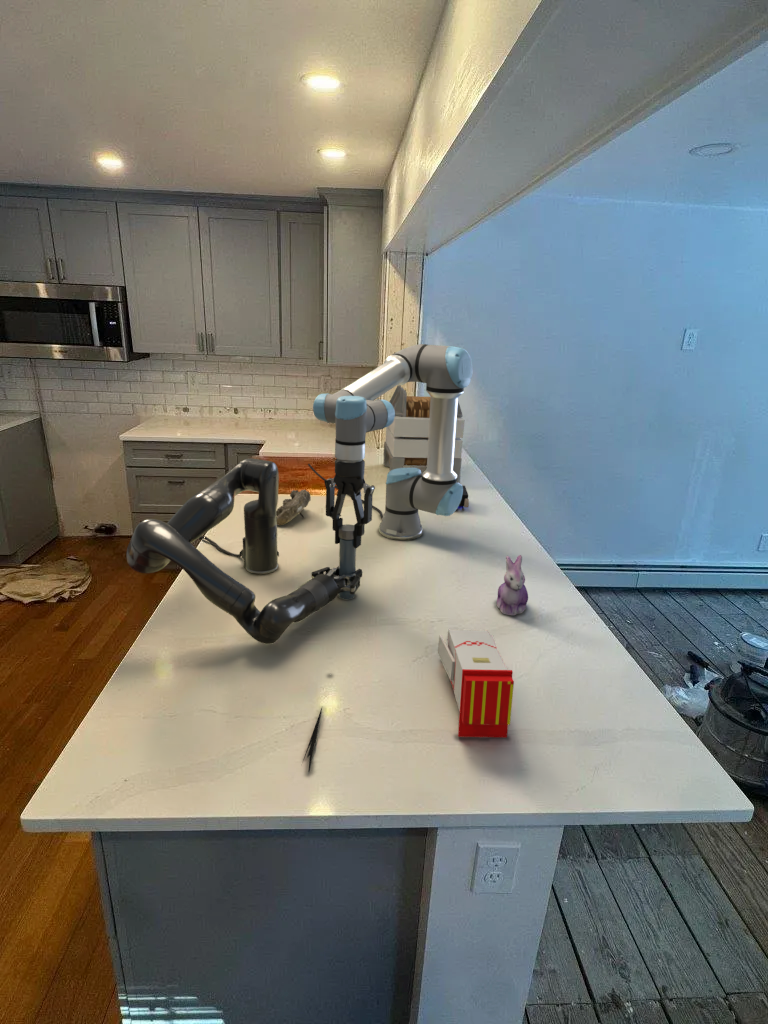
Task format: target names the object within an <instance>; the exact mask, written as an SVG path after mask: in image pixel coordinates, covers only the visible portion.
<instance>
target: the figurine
mask: <svg viewBox="0 0 768 1024" xmlns="http://www.w3.org/2000/svg"><path fill="white" fill-rule="evenodd" d="M522 562H523V555H522V554H519V555H518V556H517V557H516V559H515V561H513V560H512V558H511V556H509V555H506V556H505V566H506V567H505V569H506V571H505V573H504V576H503V581H504V582H502V584H500V585H499V586H498V589H497V598H496V607H497V608H498V610H500V612H501V614H503V615H508V616H516V615H518V614H523V612H524V611H525V610H526V607H527V603H528V601H529V594H528V590H527V587H526V585H525V583H526V576H525V574H524V571H523V569H522V564H523V563H522Z"/></svg>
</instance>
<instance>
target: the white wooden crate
mask: <svg viewBox="0 0 768 1024" xmlns="http://www.w3.org/2000/svg"><path fill="white" fill-rule="evenodd" d="M407 394H408V393H407V390H406V389H404V388H403V387H402V385H396V388H395V390H394V392H393V394H392V395H391V398H390V400H389V401H388V402H390V403H391V404H392V406H393V408H394V411H395V418H394V421H393V422H392V424H391V425H390V426H388V427H385V438H384V442H383V466H384V467H388V468H389V471H391V470H394V469H398V468H405V466H406V467H407V466H411V467H412V466H413V467H415V466H416V467H417V466H418V467H427V454H428V436H429V417H430V399H431V396H415V395H414V396H413V395H412V396H411V395H407ZM464 429H465V419H464V418H463V411H462V408H461V405H460V402H459V401H458V406H457V420H456V434H455V448H454V462H453V471H454V472H455V473H456V474H457V483H461V472H462V461H463V460H462V453H463V442H464V441H463V440H462V439H463V438H464V431H465V430H464Z"/></svg>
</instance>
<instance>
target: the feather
mask: <svg viewBox="0 0 768 1024" xmlns="http://www.w3.org/2000/svg"><path fill="white" fill-rule="evenodd" d="M329 675H330V676H331V675H332V674H331V673H330V674H329ZM322 710H323V707H321V708H320V710H319V713H318V716H317V719H316V723H315V725H314V728H313V731H312V733H311V737H310V739H309V742H308V745H307V748H306V751H305V754H304V757H303V760H302V763H301V767H302V765H303V763H304V761H305V758H308V759H309V760H308V762H307V763H308V764H307V766H308V771H310V770H311V766H312V765H311V764H312V760H313V757H315V756H314V755H315V751H316V749H315V746H317V739H318V733H319V729H320V722H321V717H322V712H323V711H322ZM313 754H314V755H313ZM306 755H307V757H306Z"/></svg>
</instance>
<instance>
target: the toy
mask: <svg viewBox="0 0 768 1024" xmlns="http://www.w3.org/2000/svg"><path fill="white" fill-rule="evenodd" d="M446 640H447V643H446V641H445V639H444V636H443V635H442V634H439V637H438V646H437V656H438V657H439V659H440V661H441V663H442V666H443V668H444V670H445V672H446V674H447V677H448V679H449V681H450V684H451V687H452V690H453V693H454V697H455V701H456V705H457V708H458V711H459V714H458V715H459V716H458V730H457V731H458V732H457V737H458V738H508V731H509V726H510V725H511V717H512V707H513V697H514V696H513V695H514V684H515V680H514V679H513V673H514V671H513V670H512V669H508V667H507V665H506V662H505V661H504V659H503V658H502V655H501V653H500V651H499V649H498V647H497V643H496V639H495V637H494V635H493V634H491V632H490V631H489V629H467V628H466V629H465V628H463V629H461V628H460V629H459V628H448V630H447V639H446Z"/></svg>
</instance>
